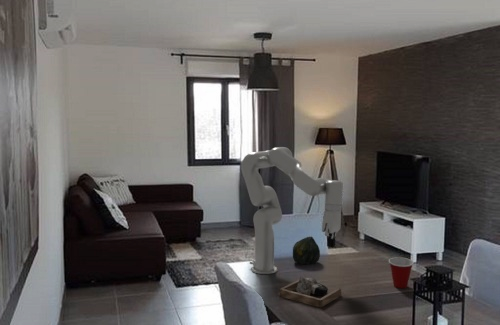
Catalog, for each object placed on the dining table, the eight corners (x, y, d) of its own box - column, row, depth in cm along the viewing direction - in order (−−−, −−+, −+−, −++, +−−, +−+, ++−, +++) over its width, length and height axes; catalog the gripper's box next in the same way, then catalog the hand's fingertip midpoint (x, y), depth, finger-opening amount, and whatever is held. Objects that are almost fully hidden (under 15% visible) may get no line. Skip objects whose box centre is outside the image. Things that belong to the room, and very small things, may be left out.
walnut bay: (279, 296, 198) (279, 289, 197) (300, 285, 211) (300, 278, 211) (320, 307, 185) (321, 300, 185) (341, 295, 198) (341, 288, 198)
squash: (282, 251, 248) (297, 233, 240) (301, 247, 258) (315, 230, 250) (297, 273, 241) (312, 256, 233) (315, 268, 251) (331, 251, 243)
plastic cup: (386, 288, 207) (387, 262, 206) (389, 281, 217) (389, 256, 216) (412, 292, 203) (413, 265, 202) (413, 284, 213) (414, 258, 212)
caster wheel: (328, 298, 202) (317, 302, 194) (306, 287, 208) (295, 290, 200) (332, 284, 201) (322, 287, 193) (310, 273, 208) (299, 276, 200)
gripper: (333, 204, 219) (331, 242, 221) (317, 208, 207) (315, 248, 209) (348, 206, 214) (345, 245, 216) (332, 210, 202) (330, 251, 204)
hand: (330, 246), depth 212 cm, fingers closed
